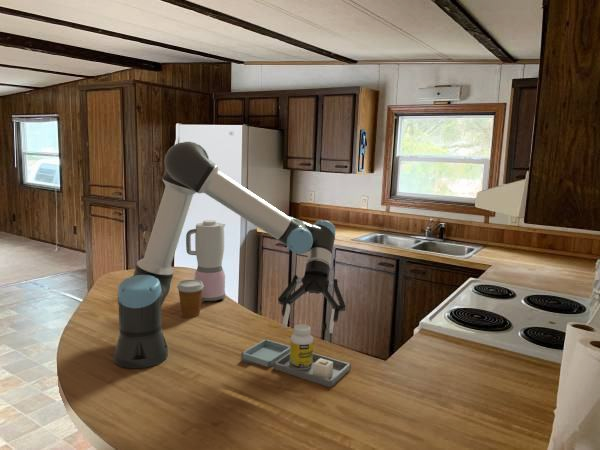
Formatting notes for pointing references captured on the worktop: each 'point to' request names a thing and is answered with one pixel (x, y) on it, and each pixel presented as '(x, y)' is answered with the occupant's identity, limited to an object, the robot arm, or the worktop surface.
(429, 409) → the worktop surface
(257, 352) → the slate tray
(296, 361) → the pill bottle
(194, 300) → the disposable coffee cup
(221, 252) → the blender
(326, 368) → the letter cube
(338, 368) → the charcoal tray
